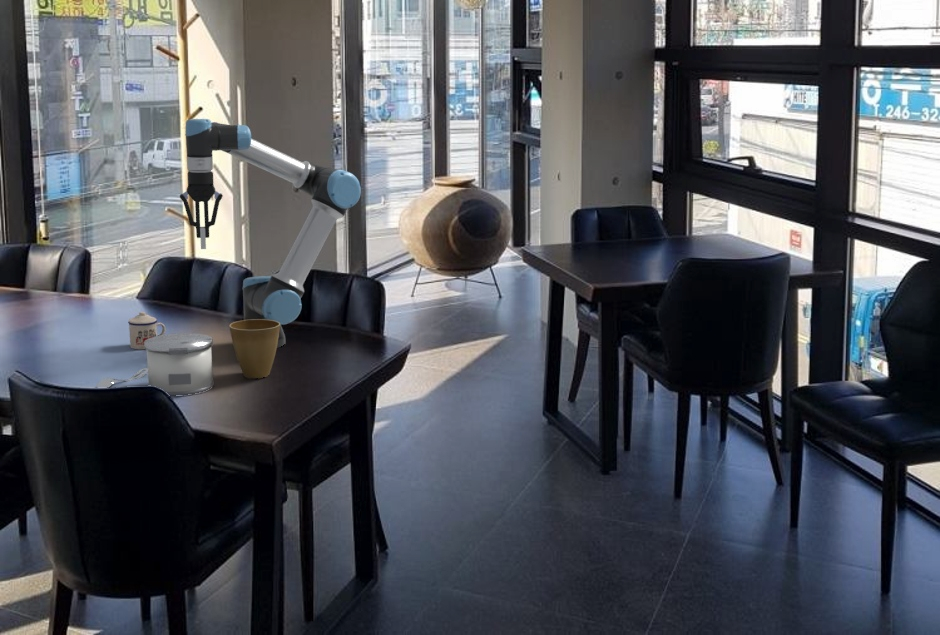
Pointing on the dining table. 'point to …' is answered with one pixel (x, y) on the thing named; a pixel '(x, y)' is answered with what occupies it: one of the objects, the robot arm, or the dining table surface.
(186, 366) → the cooker pot
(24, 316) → the dining table surface
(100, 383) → the stirrer
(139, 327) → the teacup with lid
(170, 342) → the lid
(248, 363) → the plant pot
